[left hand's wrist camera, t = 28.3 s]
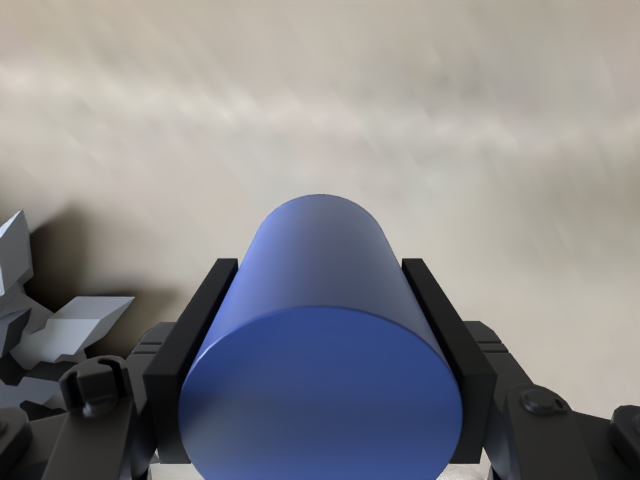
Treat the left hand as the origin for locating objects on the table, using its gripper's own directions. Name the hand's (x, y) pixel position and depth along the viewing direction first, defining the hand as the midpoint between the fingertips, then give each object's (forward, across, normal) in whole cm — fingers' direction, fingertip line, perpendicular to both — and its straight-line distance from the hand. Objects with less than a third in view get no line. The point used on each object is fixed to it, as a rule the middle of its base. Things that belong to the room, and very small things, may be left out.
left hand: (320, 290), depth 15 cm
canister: (+3, 0, 0) cm, 3 cm away
